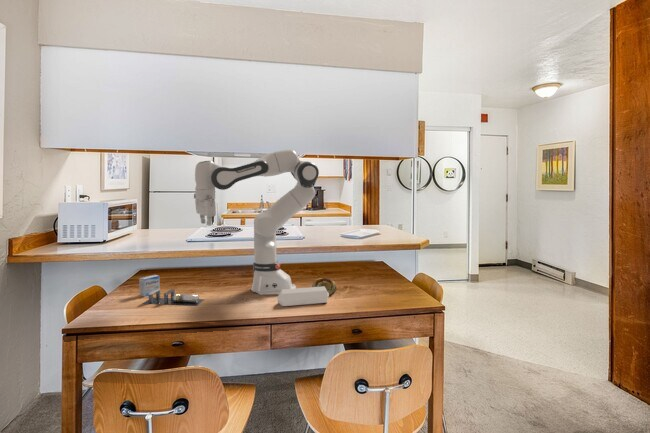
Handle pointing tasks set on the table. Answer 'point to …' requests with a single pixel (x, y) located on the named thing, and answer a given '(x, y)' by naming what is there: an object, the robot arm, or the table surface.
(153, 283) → the medicine box
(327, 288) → the pastry
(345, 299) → the table surface
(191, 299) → the tube
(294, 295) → the white chamfered bar
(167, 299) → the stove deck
